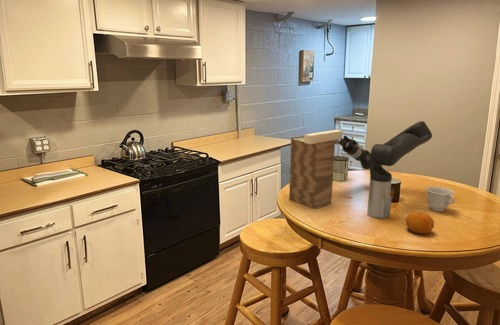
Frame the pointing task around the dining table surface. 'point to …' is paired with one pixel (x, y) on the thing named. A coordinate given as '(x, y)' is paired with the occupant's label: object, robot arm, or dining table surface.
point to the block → (322, 136)
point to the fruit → (419, 222)
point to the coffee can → (340, 168)
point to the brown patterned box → (311, 172)
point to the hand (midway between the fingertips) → (337, 136)
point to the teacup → (439, 198)
